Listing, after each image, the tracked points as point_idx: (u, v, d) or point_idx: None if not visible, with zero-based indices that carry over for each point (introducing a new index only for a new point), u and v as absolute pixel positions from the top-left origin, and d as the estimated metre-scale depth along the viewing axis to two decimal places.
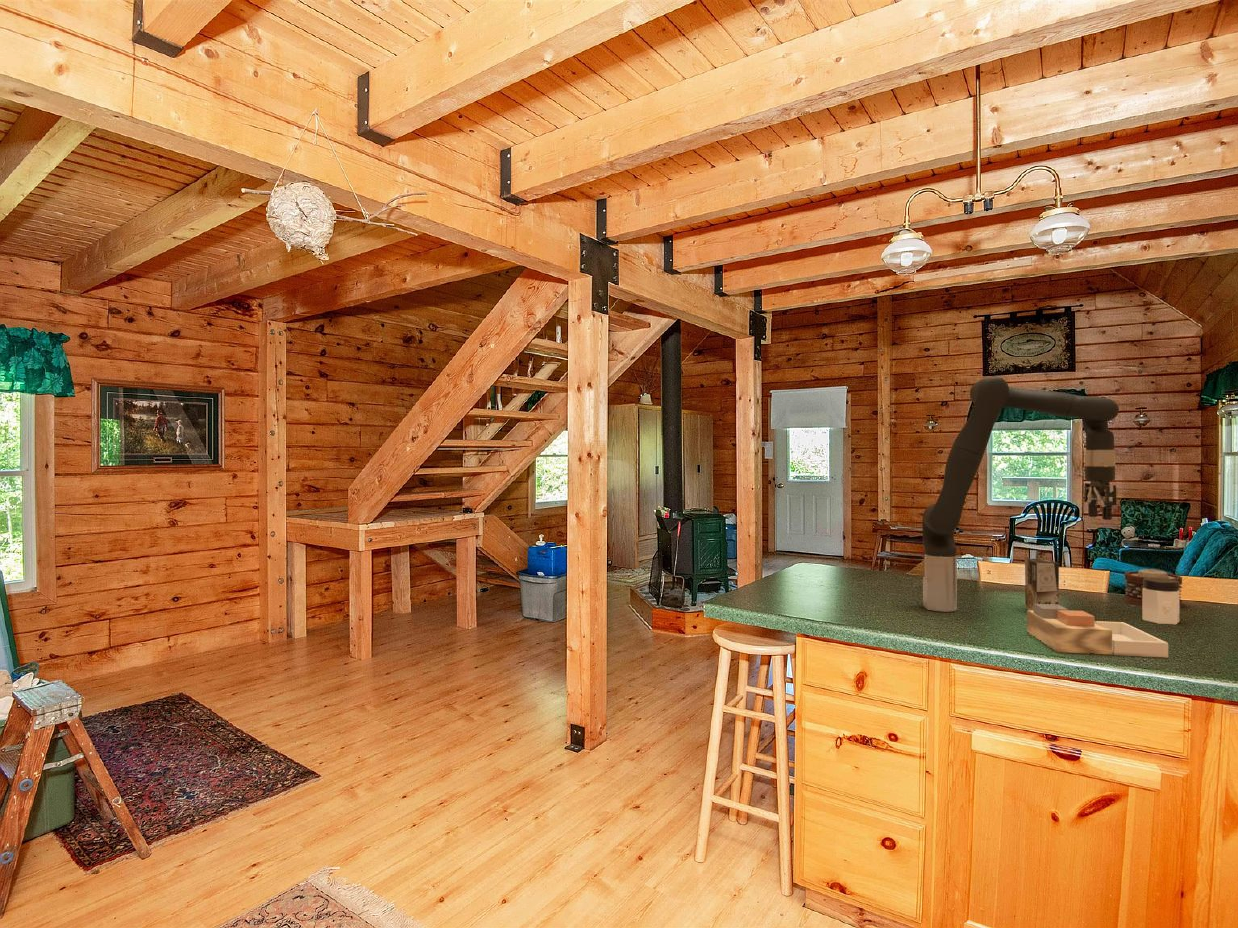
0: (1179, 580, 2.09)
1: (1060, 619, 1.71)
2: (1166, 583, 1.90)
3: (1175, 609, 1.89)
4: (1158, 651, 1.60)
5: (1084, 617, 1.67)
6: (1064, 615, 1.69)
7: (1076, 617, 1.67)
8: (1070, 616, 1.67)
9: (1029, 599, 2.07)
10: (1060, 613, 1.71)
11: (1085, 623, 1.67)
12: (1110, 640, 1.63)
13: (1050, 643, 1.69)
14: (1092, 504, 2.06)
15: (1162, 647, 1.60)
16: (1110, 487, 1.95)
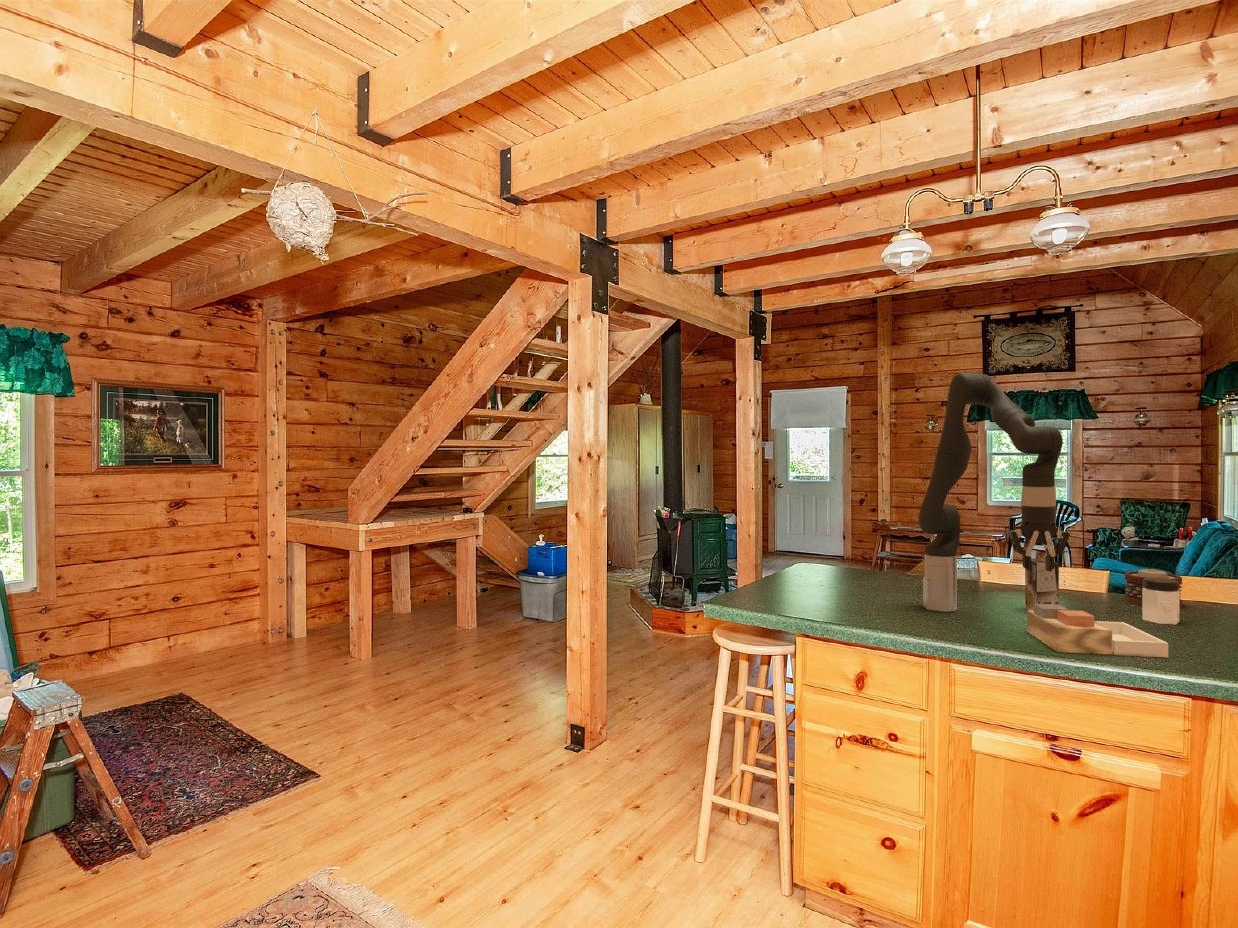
0: (1179, 580, 2.09)
1: (1060, 619, 1.71)
2: (1166, 583, 1.90)
3: (1175, 609, 1.89)
4: (1158, 651, 1.60)
5: (1084, 617, 1.67)
6: (1064, 615, 1.69)
7: (1076, 617, 1.67)
8: (1070, 616, 1.67)
9: (1029, 599, 2.07)
10: (1060, 613, 1.71)
11: (1085, 623, 1.67)
12: (1110, 640, 1.63)
13: (1050, 643, 1.69)
14: None
15: (1162, 647, 1.60)
16: None
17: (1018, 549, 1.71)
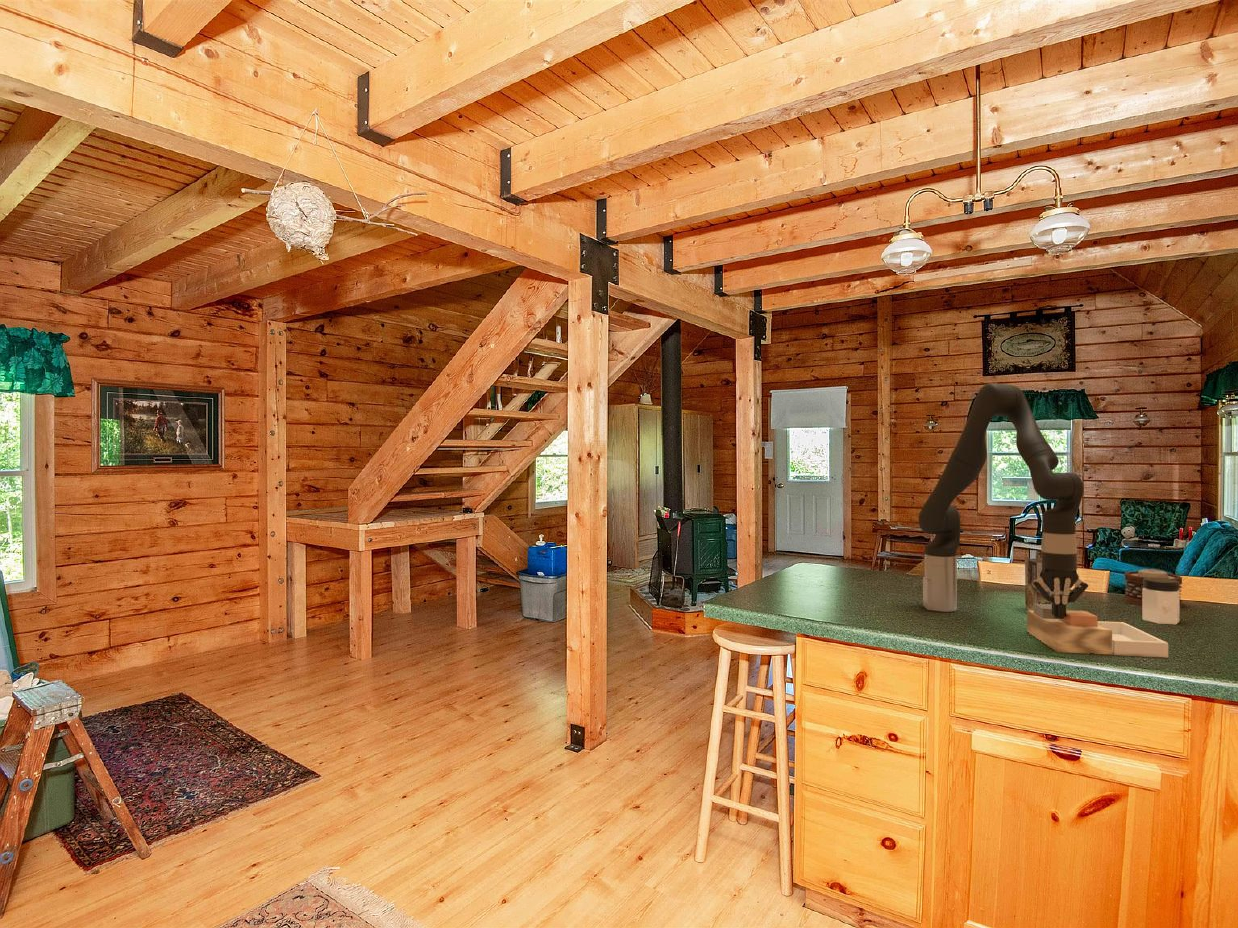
0: (1179, 580, 2.09)
1: (1063, 619, 1.71)
2: (1166, 583, 1.90)
3: (1175, 609, 1.89)
4: (1158, 651, 1.60)
5: (1087, 617, 1.67)
6: (1067, 615, 1.69)
7: (1079, 617, 1.67)
8: (1073, 616, 1.67)
9: (1029, 599, 2.07)
10: None
11: (1088, 623, 1.67)
12: (1110, 640, 1.63)
13: (1050, 643, 1.69)
14: None
15: (1162, 647, 1.60)
16: None
17: (1047, 597, 1.70)
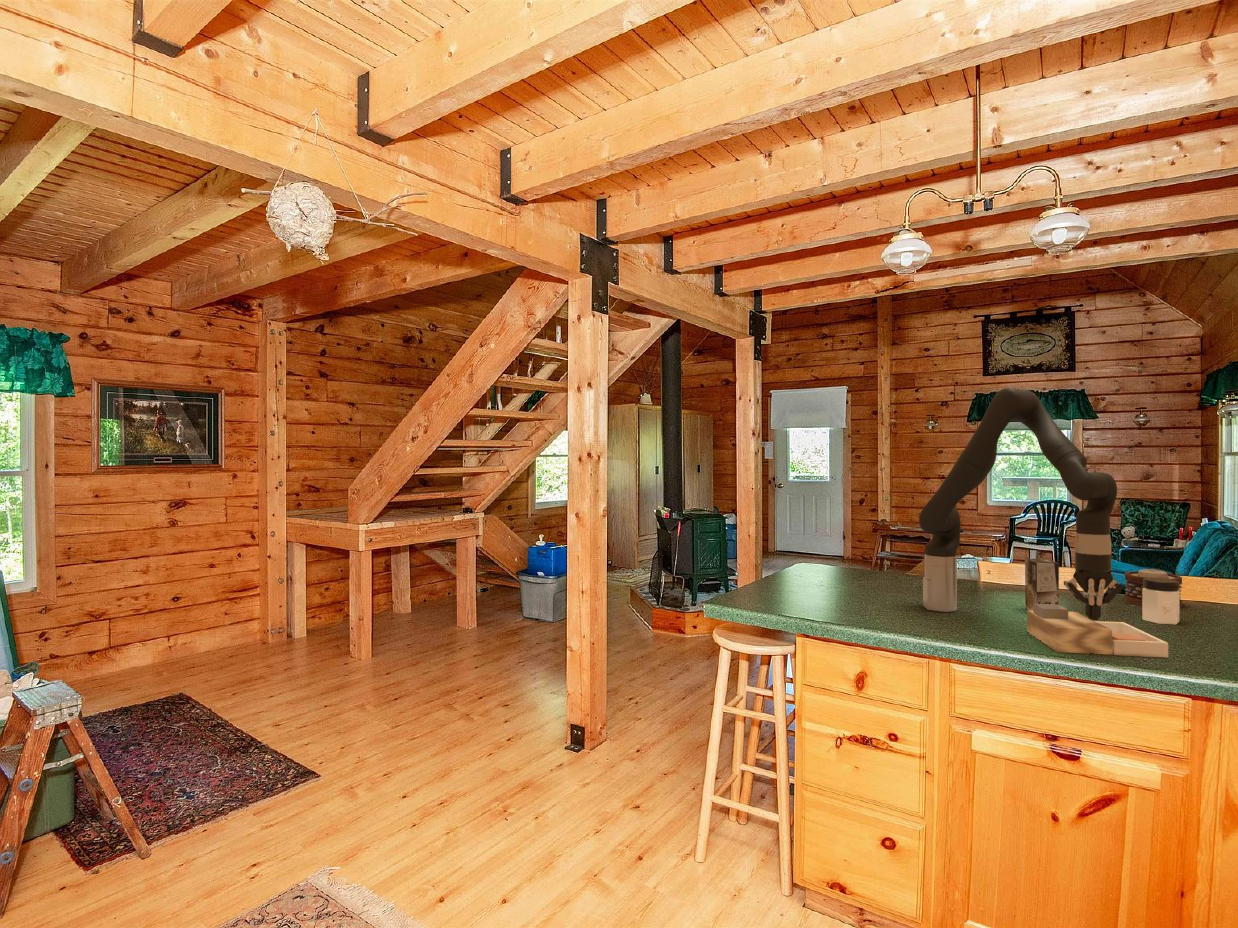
0: (1179, 580, 2.09)
1: None
2: (1166, 583, 1.90)
3: (1175, 609, 1.89)
4: (1158, 651, 1.60)
5: None
6: None
7: None
8: None
9: (1029, 599, 2.07)
10: None
11: None
12: (1110, 640, 1.63)
13: (1050, 643, 1.69)
14: None
15: (1162, 647, 1.60)
16: None
17: (1081, 598, 1.68)
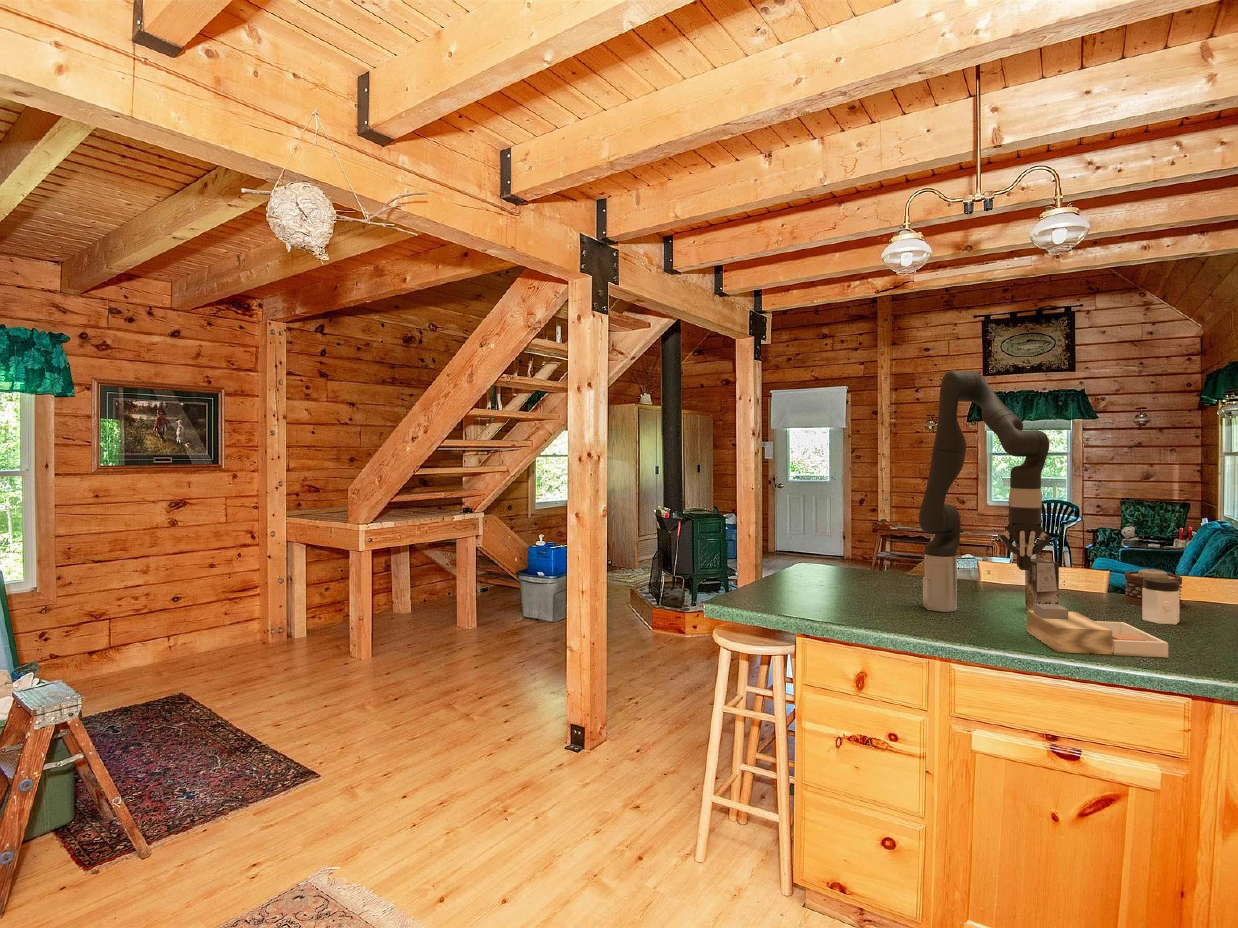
0: (1179, 580, 2.09)
1: None
2: (1166, 583, 1.90)
3: (1175, 609, 1.89)
4: (1158, 651, 1.60)
5: None
6: None
7: None
8: None
9: (1029, 599, 2.07)
10: None
11: None
12: (1110, 640, 1.63)
13: (1050, 643, 1.69)
14: None
15: (1162, 647, 1.60)
16: None
17: (1013, 549, 1.77)
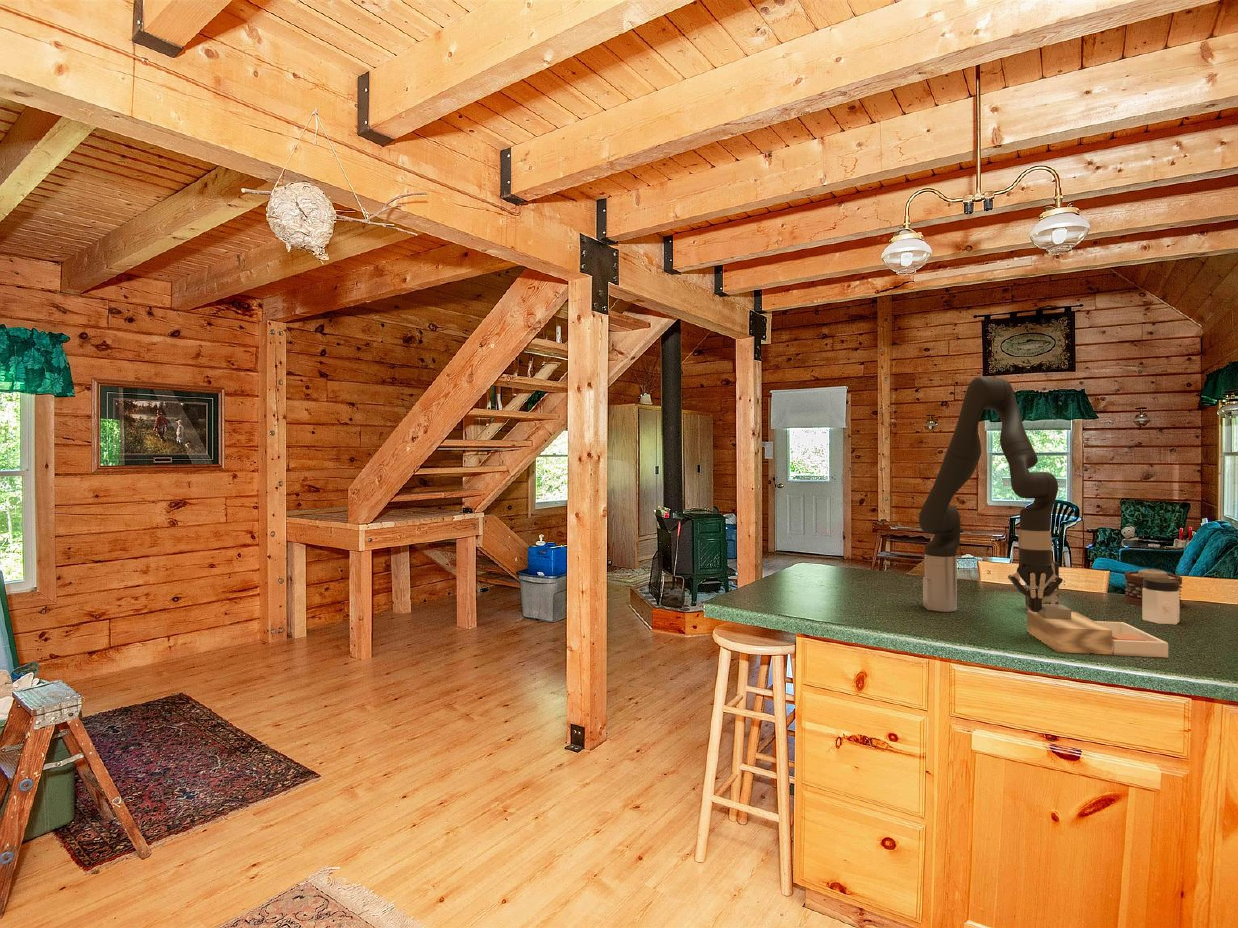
0: (1179, 580, 2.09)
1: None
2: (1166, 583, 1.90)
3: (1175, 609, 1.89)
4: (1158, 651, 1.60)
5: None
6: None
7: None
8: None
9: None
10: None
11: None
12: (1110, 640, 1.63)
13: (1050, 643, 1.69)
14: None
15: (1162, 647, 1.60)
16: None
17: (1024, 591, 1.77)
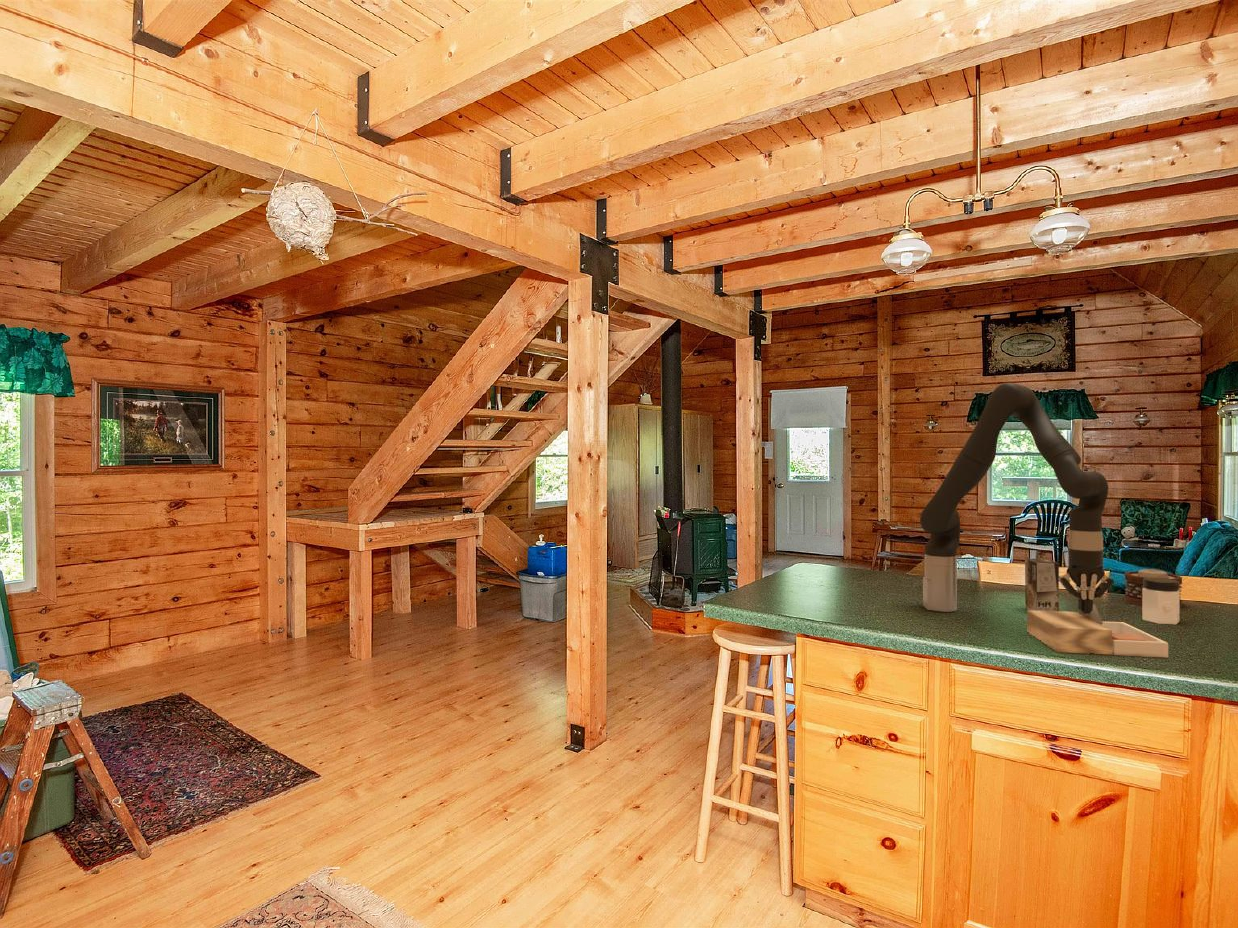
0: (1179, 580, 2.09)
1: None
2: (1166, 583, 1.90)
3: (1175, 609, 1.89)
4: (1158, 651, 1.60)
5: None
6: None
7: None
8: None
9: (1029, 599, 2.07)
10: None
11: None
12: (1110, 640, 1.63)
13: (1050, 643, 1.69)
14: None
15: (1162, 647, 1.60)
16: None
17: (1074, 592, 1.75)
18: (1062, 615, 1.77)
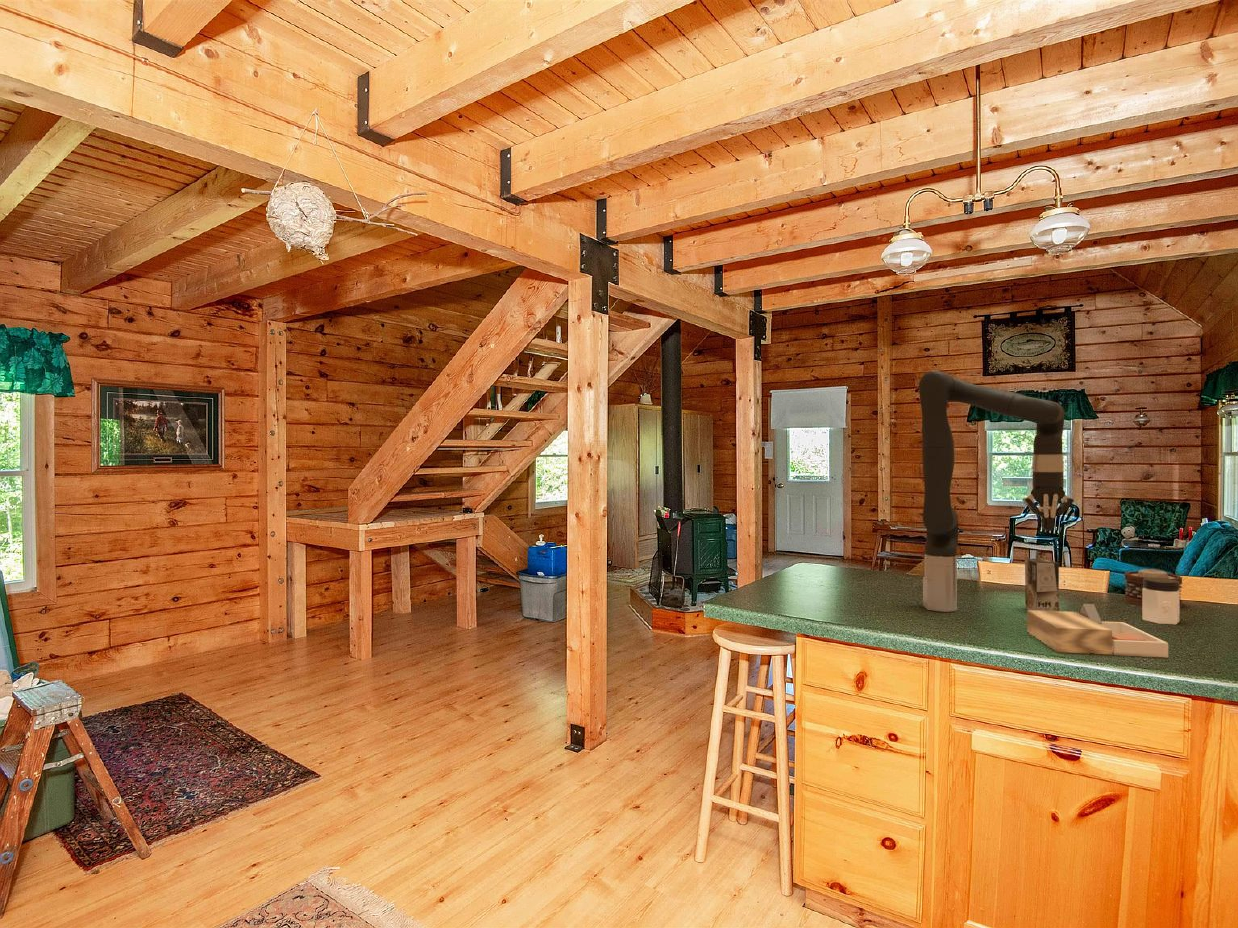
0: (1179, 580, 2.09)
1: None
2: (1166, 583, 1.90)
3: (1175, 609, 1.89)
4: (1158, 651, 1.60)
5: None
6: None
7: None
8: None
9: (1029, 599, 2.07)
10: None
11: None
12: (1110, 640, 1.63)
13: (1050, 643, 1.69)
14: None
15: (1162, 647, 1.60)
16: None
17: (1037, 511, 1.91)
18: (1062, 615, 1.77)
